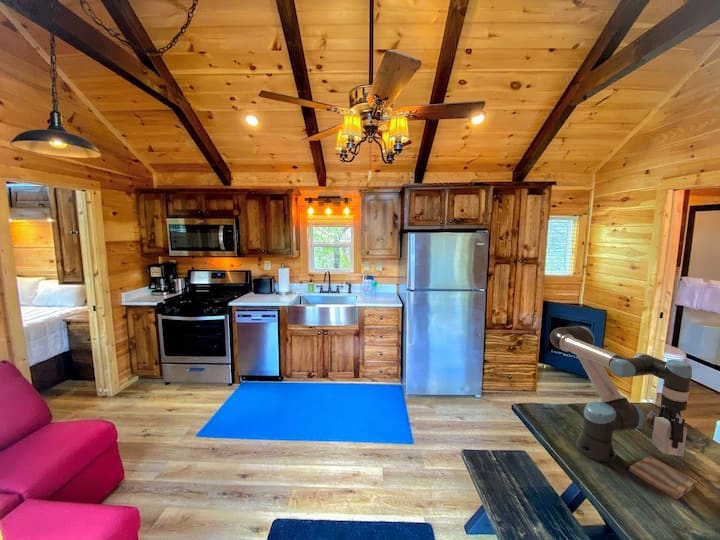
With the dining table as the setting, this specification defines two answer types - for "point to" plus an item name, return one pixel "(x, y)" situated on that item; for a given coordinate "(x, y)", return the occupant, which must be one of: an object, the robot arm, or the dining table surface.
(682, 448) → the supplement box
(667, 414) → the robot arm
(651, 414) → the rock
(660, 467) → the plinth
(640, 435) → the dining table surface
